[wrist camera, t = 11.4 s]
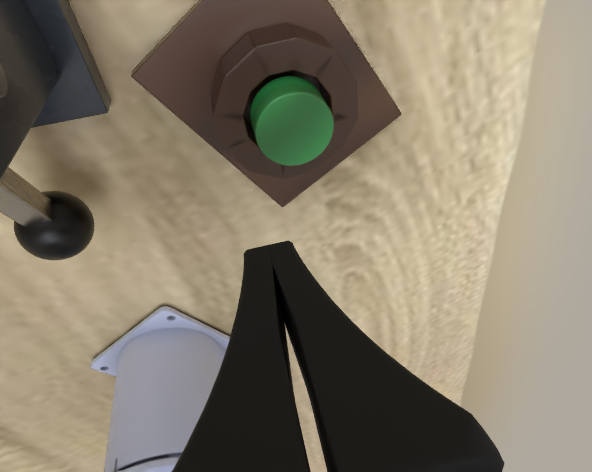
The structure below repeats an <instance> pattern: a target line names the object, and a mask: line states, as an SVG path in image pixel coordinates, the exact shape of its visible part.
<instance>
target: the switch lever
mask: <svg viewBox="0 0 592 472" xmlns="http://www.w3.org/2000/svg"><path fill="white" fill-rule="evenodd" d="M0 212H1V213H3V214H4V215H6V216H8V217H9V218H11V219H12V220H14V231H15V235H16V237H17V240H18V241H19V243H20V244H21V246H22V247H23V248H24V249H25V250H27V251H28V252H29V253H31V254H32V255H34V256H36V257H39V258H42V259H47V260H63V259H67V258H70V257H73V256H75V255H77V254H78V253H80V252H81V251H82V250H84V249H85V248H86V246H87V245H88V244H89V243H90V241H91V239H92V236H93V233H94V219H93V216H92V213H91V211H90V210H89V208H88V207H87V205H86V204H85V203H84V202H83V201H81V200H80V199H79V198H77V197H76V196H74V195H72V194H69V193H66V192H61V191H46V192H42V193H41V192H40V191H39V190H37V189H36V188H35V187H33V186H32V185H31V184H30V183H28V182H27V181H26V180H24V179H23V178H22V177H21V176H19V175H18V174H17V173H15V172H14V171H13V170H12V169H10V168H9V167H8V168H7V170H6V171H5V173H4V175H3V177H2V178H1V180H0Z"/></svg>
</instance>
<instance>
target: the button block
mask: <svg viewBox="0 0 592 472" xmlns="http://www.w3.org/2000/svg"><path fill="white" fill-rule="evenodd" d="M131 76H132V77H133V78H134V79H135V80H136V81H137V82H138V83H139V84H141V85H142V86H143V87H144V88H145V89H146V90H148V91H149V92H150V93H151V94H152V95H153V96H154V97H156V98H157V99H158V100H159V101H160V102H161V103H163V104H164V105H165V106H166V107H167V108H168V109H169V110H171V111H172V112H173V113H174V114H175V115H176V116H178V117H179V118H180V119H181V120H182V121H183V122H184V123H186V124H187V125H188V126H189V127H190V128H191V129H193V130H194V131H195V132H196V133H197V134H198V135H199V136H201V137H202V138H203V139H204V140H205V141H206V142H208V143H209V144H210V145H211V146H212V147H213V148H215V149H216V150H217V151H218V152H219V153H220V154H221V155H223V156H224V157H225V158H226V159H227V160H228V161H230V162H231V163H232V164H233V165H234V166H235V167H236V168H238V169H239V170H240V171H241V172H242V173H243V174H245V175H246V176H247V177H248V178H249V179H250V180H251V181H253V182H254V183H255V184H256V185H257V186H258V187H260V188H261V189H262V190H263V191H264V192H265V193H266V194H268V195H269V196H270V197H271V198H272V199H273V200H275V201H276V202H277V203H278V204H279V205H280V206H281V207H284V206H285V205H286V204H288V203H289V202H290V201H292V200H293V199H294V198H295V197H297V196H298V195H299V194H300V193H302V192H303V191H304V190H306V189H307V188H308V187H309V186H311V185H312V184H313V183H315V182H316V181H317V180H318V179H320V178H321V177H322V176H324V175H325V174H326V173H327V172H329V171H330V170H331V169H333V168H334V167H335V166H336V165H338V164H339V163H340V162H342V161H343V160H344V159H345V158H347V157H348V156H349V155H350V154H352V153H353V152H354V151H356V150H357V149H358V148H359V147H361V146H362V145H363V144H365V143H366V142H367V141H368V140H370V139H371V138H372V137H374V136H375V135H376V134H377V133H379V132H380V131H381V130H383V129H384V128H385V127H386V126H388V125H389V124H390V123H392V122H393V121H394V120H395V119H397V118H398V117H399V116H400V115H401V112H400V110H399V109H398V107H397V106H396V104H395V103H394V101H393V99H392V98H391V96H390V95H389V93H388V92H387V90H386V89H385V87H384V86H383V84H382V83H381V81H380V80H379V78H378V76H377V75H376V73H375V72H374V70H373V69H372V67H371V66H370V64H369V63H368V61H367V60H366V58H365V57H364V55H363V54H362V52H361V50H360V49H359V47H358V46H357V44H356V43H355V41H354V40H353V38H352V37H351V35H350V34H349V32H348V31H347V29H346V27H345V26H344V24H343V23H342V21H341V20H340V18H339V17H338V15H337V14H336V12H335V11H334V9H333V8H332V6H331V4H330V3H329V1H328V0H199V1H198V2H197V3H196V4H195V5H194V6H193V7H192V8H191V9H190V10H189V12H188V13H187V14H186V15H185V16H184V17H183V18H182V19H181V20H180V21H179V22H178V23H177V24H176V25H175V26H174V27H173V28H172V30H171V31H170V32H169V33H168V34H167V35H166V36H165V37H164V38H163V39H162V40H161V41H160V42H159V43H158V44H157V45H156V46H155V47H154V49H153V50H152V51H151V52H150V53H149V54H148V55H147V56H146V57H145V58H144V59H143V60H142V61H141V62H140V63H139V64H138V65H137V67H136V68H135V69H134V70H133V71H132V75H131ZM285 76H296V77H300V78H303V79H306V80H307V81H309V82H311V83H312V84H313V85H314V86H315V87H316V88H317V89H318V91H319V92H320V94H321V95H322V97H323V99H324V100H325V102H326V103H327V105H328V107H329V108H330V110H331V112H332V115H333V120H334V129H333V134H332V137H331V140H330V142H329V144H328V145H327V147H326V148H325V150H324V151H323V152H322V153H321V154H320V155H319V156H317V157H316V158H315V159H313V160H311V161H309V162H307V163H304V164H301V165H294V166H288V165H281V164H278V163H276V162H273V161H272V160H270V159H269V158H267V157H266V156H265V155H264V154H263V153H262V151H261V150H260V148H259V146H258V144H257V141H256V137H255V134H254V130H253V127H252V123H251V118H250V112H251V106H252V103H253V100H254V98H255V96H256V94H257V93H258V92H259V90H260V89H261V88H262V87H263V86H265V85H266V84H267V83H269V82H270V81H272V80H274V79H276V78H280V77H285Z"/></svg>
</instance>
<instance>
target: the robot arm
mask: <svg viewBox="0 0 592 472" xmlns="http://www.w3.org/2000/svg"><path fill="white" fill-rule="evenodd" d="M284 322H285V323H284ZM285 325H286V328H287V331H288V334H289V337H290V340H291V343H292V346H293V349H294V352H295V355H296V358H297V361H298V364H299V367H300V370H301V373H302V376H303V379H304V382H305V385H306V388H307V391H308V394H309V398H310V401H311V405H312V409H313V413H314V418H315V422H316V426H317V430H318V434H319V438H320V442H321V447H322V451H323V455H324V459H325V463H326V468H327V472H502V469H503V466H504V461H503V460H502V458H501V455H500V453H499V451H498V449H497V448H496V446H495V445H494V443H493V442H492V440H491V439H490V437H489V436H488V435H487V434H486V432H485V431H484V429H483V428H482V427H481V425H480V424H479V423H478V422H477V420H476V419H475V418H474V417H473V415H472V414H471V413H469V412H468V411H466V410H465V409H463V408H461V407H460V406H458V405H457V404H455V403H454V402H452V401H451V400H449V399H448V398H446V397H445V396H443V395H442V394H440V393H439V392H437V391H436V390H434V389H433V388H431V387H430V386H429V385H427V384H426V383H425V382H423V381H422V380H420V379H419V378H418V377H416V376H415V375H413V374H412V373H411V372H410V371H408V370H407V369H406V368H405V367H403V366H402V365H401V364H400V363H398V362H397V361H396V360H395V359H393V358H392V357H391V356H390V355H388V354H387V353H386V352H385V351H383V350H382V349H381V348H380V347H379V346H378V345H377V344H375V343H374V342H373V341H372V340H371V339H370V338H369V337H368V336H367V335H366V334H365V333H363V332H362V331H361V330H360V329H359V328H358V327H357V326H356V325H355V324H354V323H353V322H352V321H351V320H350V319H349V318H348V317H347V316H346V315H345V314H344V312H343V311H342V310H341V309H340V308H339V307H338V306H337V305H336V304H335V303H334V301H333V300H332V299H331V298H330V297H329V296H328V295H327V293H326V292H325V291H324V290H323V288H322V287H321V286H320V285H319V283H318V282H317V281H316V280H315V278H314V277H313V276H312V274H311V273H310V271H309V270H308V269H307V267H306V266H305V264H304V263H303V261H302V260H301V258H300V256H299V255H298V253H297V251H296V249H295V247H294V245H293V243H292V242H290V241H284V242H280V243H275V244H271V245H266V246H262V247H257V248H253V249H249V250H246V252H245V253H244V272H243V280H242V288H241V293H240V298H239V303H238V309H237V313H236V317H235V321H234V325H233V329H232V332H231V336H230V337H229V336H227V335H225V334H223V333H221V332H219V331H217V330H215V329H213V328H211V327H209V326H207V325H205V324H203V323H201V322H199V321H197V320H195V319H193V318H191V317H189V316H187V315H185V314H183V313H181V312H179V311H177V310H175V309H173V308H171V307H168V306H164V307H161V308H159V309H158V310H156V311H155V312H154V313H152V314H151V315H150V316H149V317H147V318H146V319H145V320H143V321H142V322H141V323H140V324H138V325H137V326H136V327H134V328H133V329H132V330H130V331H129V332H128V333H127V334H125V335H124V336H123V337H121V338H120V339H119V340H118V341H116V342H115V343H114V344H112V345H111V346H110V347H109V348H107V349H106V350H105V351H103V352H102V353H101V354H100V355H98V356H97V357H96V358H94V359H93V360H92V361H91V368H92V369H94V370H97V371H100V372H103V373H106V374H109V375H112V376H115V377H116V379H115V387H114V395H113V403H112V411H111V418H110V426H109V434H108V442H107V450H106V458H105V466H104V472H310V467H309V463H308V458H307V454H306V449H305V445H304V440H303V436H302V431H301V427H300V422H299V417H298V413H297V408H296V403H295V397H294V392H293V384H292V376H291V369H290V361H289V354H288V346H287V338H286V331H285Z"/></svg>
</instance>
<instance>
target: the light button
mask: <svg viewBox="0 0 592 472" xmlns="http://www.w3.org/2000/svg"><path fill="white" fill-rule="evenodd" d="M250 118H251V123H252V127H253V130H254V134H255V137H256V141H257V144H258V146H259V148H260V150H261V151H262V153H263V154H264V155H265V156H266V157H267V158H269V159H270V160H272V161H273V162H276V163H278V164H281V165H288V166H294V165H301V164H304V163H307V162H309V161H311V160H313V159H315V158H316V157H317V156H319V155H320V154H321V153H322V152H323V151H324V150H325V148H326V147H327V145H328V144H329V142H330V140H331V137H332V134H333V129H334V120H333V115H332V112H331V110H330V108H329V107H328V105H327V103H326V102H325V100H324V99H323V97H322V95H321V94H320V92H319V91H318V89H317V88H316V87H315V86H314V85H313V84H312V83H311V82H309V81H307V80H306V79H303V78H300V77H296V76H285V77H280V78H276V79H274V80H272V81H270V82H269V83H267V84H266V85H265V86H263V87H262V88H261V89H260V90H259V92H258V93H257V94H256V96H255V98H254V100H253V103H252V106H251V112H250Z"/></svg>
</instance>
